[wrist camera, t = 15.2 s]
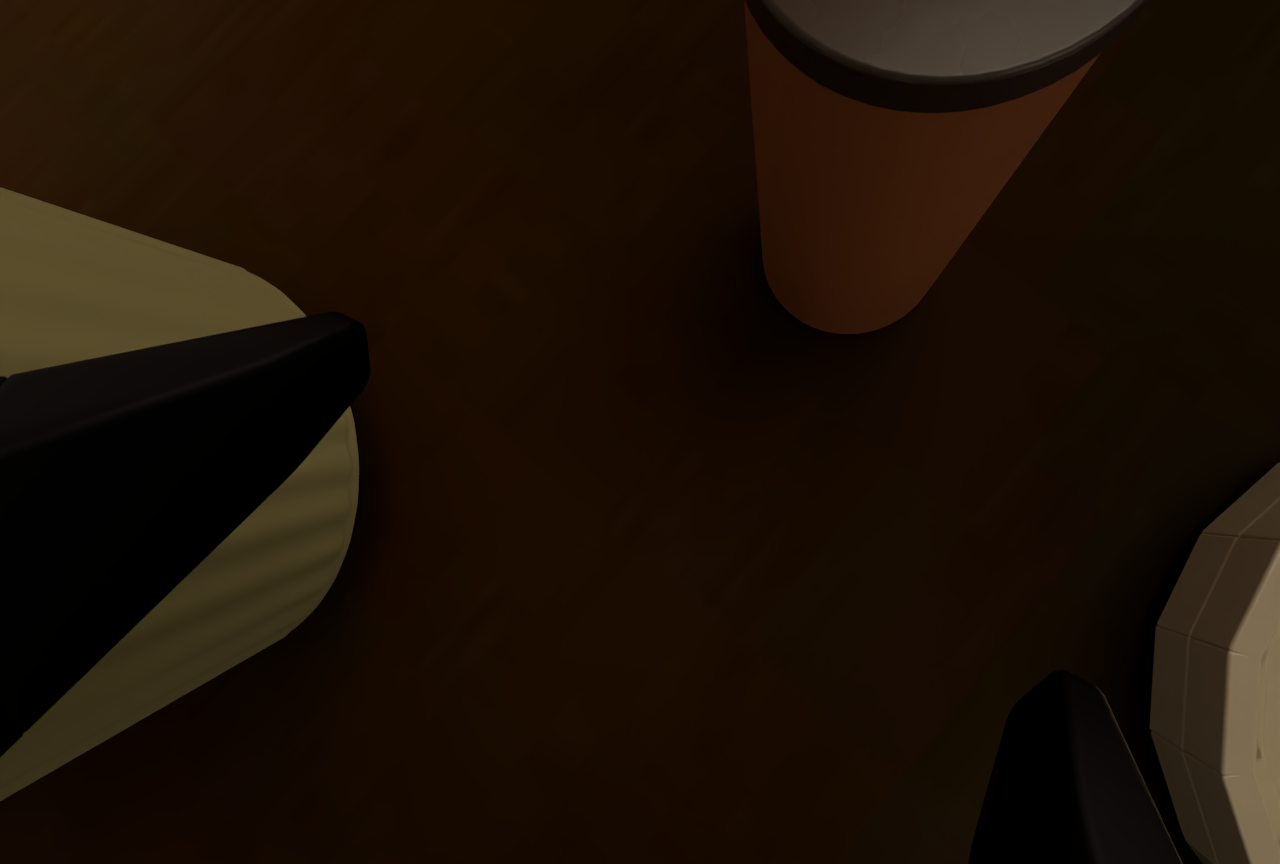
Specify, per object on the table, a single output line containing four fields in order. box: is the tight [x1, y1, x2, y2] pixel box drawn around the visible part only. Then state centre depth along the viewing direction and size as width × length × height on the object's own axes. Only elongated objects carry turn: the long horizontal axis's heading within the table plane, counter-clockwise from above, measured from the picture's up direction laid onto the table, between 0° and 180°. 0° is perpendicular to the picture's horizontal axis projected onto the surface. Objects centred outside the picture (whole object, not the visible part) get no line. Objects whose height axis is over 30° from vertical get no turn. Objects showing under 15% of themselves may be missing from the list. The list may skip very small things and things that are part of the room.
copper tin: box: [744, 0, 1151, 334], centre depth 14 cm, size 5×5×12 cm
